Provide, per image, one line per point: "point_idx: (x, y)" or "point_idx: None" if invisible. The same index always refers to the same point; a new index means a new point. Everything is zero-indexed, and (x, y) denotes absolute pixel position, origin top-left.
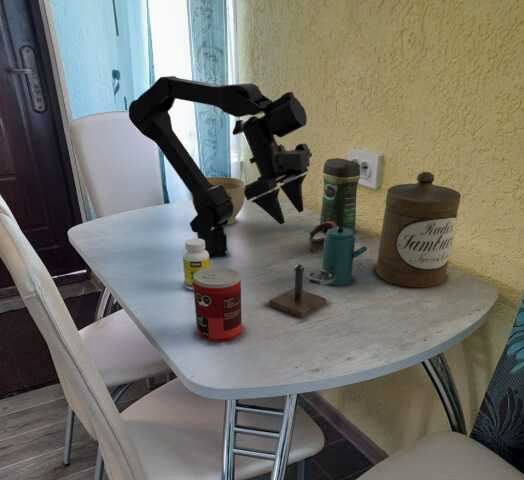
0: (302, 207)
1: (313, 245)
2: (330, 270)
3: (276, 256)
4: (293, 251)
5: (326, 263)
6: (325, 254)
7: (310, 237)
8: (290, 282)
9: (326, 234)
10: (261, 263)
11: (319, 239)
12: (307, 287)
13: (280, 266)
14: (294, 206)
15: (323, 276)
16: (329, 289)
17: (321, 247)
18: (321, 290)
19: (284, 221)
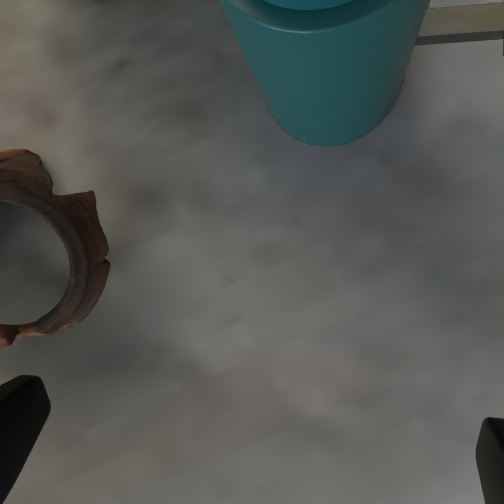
0: (5, 393)
1: (88, 293)
2: (473, 8)
3: (198, 442)
4: (109, 391)
5: (408, 59)
6: (406, 48)
7: (50, 323)
8: (465, 252)
9: (357, 5)
10: (312, 477)
11: (75, 256)
12: (481, 155)
13: (303, 375)
14: (8, 492)
15: (385, 111)
16: (450, 58)
17: (102, 242)
18: (481, 84)
19: (499, 422)
